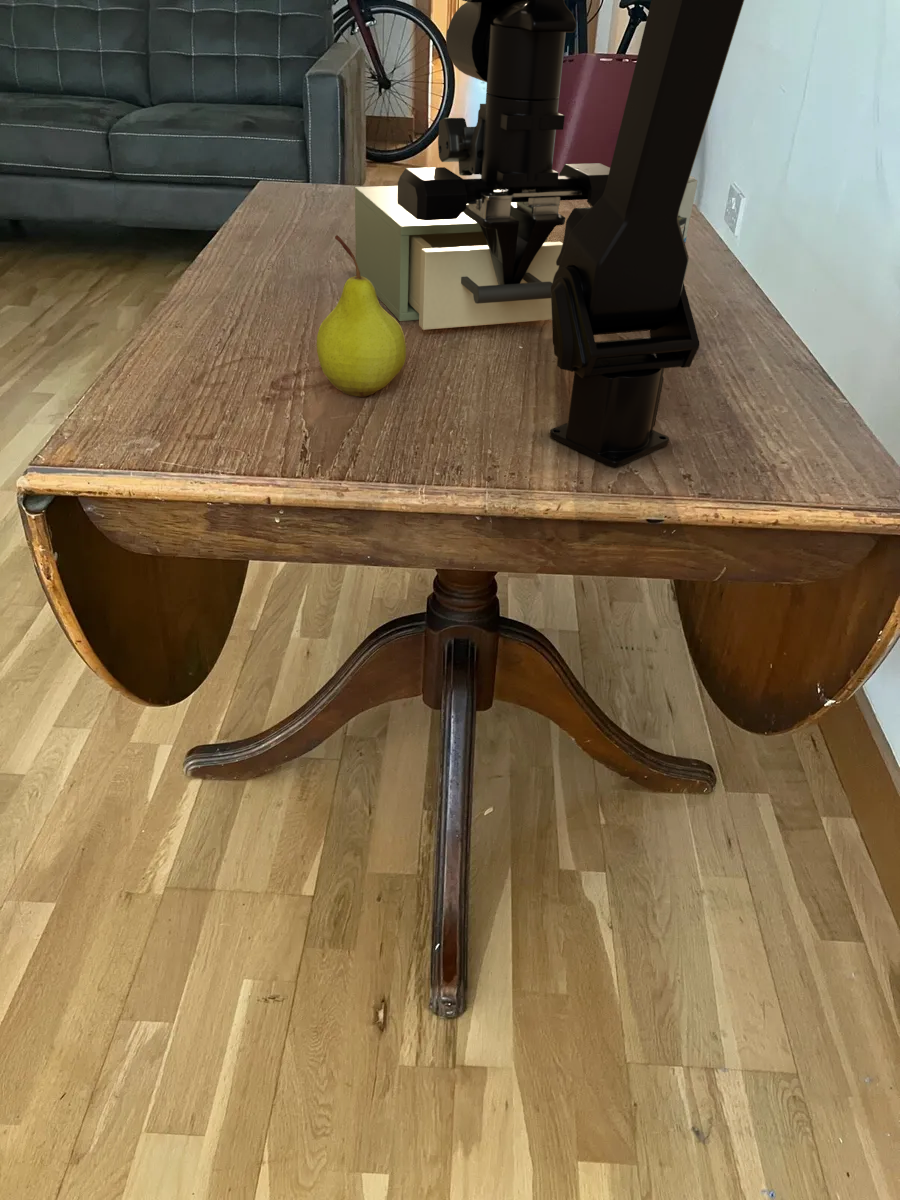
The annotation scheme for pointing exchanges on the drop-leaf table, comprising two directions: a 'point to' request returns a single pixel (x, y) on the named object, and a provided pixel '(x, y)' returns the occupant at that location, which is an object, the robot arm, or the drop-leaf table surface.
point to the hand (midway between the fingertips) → (506, 295)
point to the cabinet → (393, 243)
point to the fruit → (360, 340)
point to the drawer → (474, 283)
